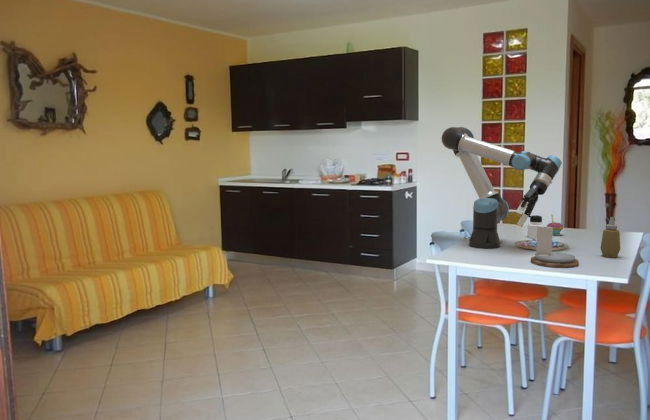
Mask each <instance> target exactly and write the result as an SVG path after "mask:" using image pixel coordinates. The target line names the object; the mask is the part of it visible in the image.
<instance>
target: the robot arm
mask: <svg viewBox="0 0 650 420" xmlns="http://www.w3.org/2000/svg"><path fill="white" fill-rule="evenodd" d="M441 143H442V145H443V146H444V147H445V148H446V149H448V150H452V152H453V155H454V156H455V157H456V158H459V159H460V161H461V164H462V165H463V168H464V170H465V172H466V173H467V175H468V179H469V180H470V182H471V185H472V186H473V188H474V190H475V192H476V194H477V197H478V199H475V201H473V205H472V209H473V211H472V212H473V215H472V217H473V219H472V232H471V235H470V238H469V241H468V246H469V247H473V248H477V249H478V248H479V249H497V248H500V247H501V240H500V236H499V232H498V223H499V222H501V221H503V220H504V219H506V217H507V216H508V214H509V211H510V207H509V204H508V202H507V201H506V200H505V199H503V198H502V196H501V194H500V192H498V191H496V190H495V189H494V187H493V185H492V183H491V180H490V179H489V177H488V174H487V173H486V171H485V169H484V166H483V164H482V161H481V160H480V158H479V157H482V158H483V159H488V160H489V161H494V162H496V163H499V164H502V165H506V166H509V167H511V168H513V169H515V170H517V171H525V170H531V171H533V172H536V175H535V176H534V179H533V180H532V182H531V183H530V185H529V190H528V191H527V192H526V193H525V194H524V195H523V196H522V197H521V200H522V201H521V203H520V204H519V206H518V208H517V209H516V211H515V213H516V214H518V215H520V218H519V220H518V221H517V223H516V225H517V226H519V227H521V228H523V226H524V225H525V223H526V222H527V220H528V218H530V217H531V216H532V212H533V210H534V208H535V206H536V204H537V202H538V201H539V195H541V196H543V195H545V193H546V191H547V190H548V188H549V186H550V184H553V180H554V178H555V176H556V175H557V174H558V172H559V170H560V168H561V167H562V160H561V159H560V157H558V156H556V155H548V156H547V157H542V156H540V155H537V154H535V153H532V152H530V151H526V150H522V151H520V152H519V151H515V150H512V149H510V148H506V147H503V146H501V145H500V146H499V145H496V144H493V143H489V142H488V141H484V140H481V139H478V138H475V137H474V134H473V132H472V130H470V129H469V128H467V127H464V126H460V127H456V126H451V127H448V128H446V129H444V131H443V132H442V134H441Z"/></svg>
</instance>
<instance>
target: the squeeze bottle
mask: <svg viewBox="0 0 650 420" xmlns="http://www.w3.org/2000/svg"><path fill="white" fill-rule="evenodd" d="M620 235H621V234H620V230H618V224H616V223H615V218H614V217H613V216H610V218H609V221H608V224H605V228H604V230H602V235H601V243H600V247H599V249H600V251H601V255H602V257H605V258H617V257H618V256H619V253H620V251H621V237H620Z"/></svg>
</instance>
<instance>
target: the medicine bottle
mask: <svg viewBox="0 0 650 420" xmlns="http://www.w3.org/2000/svg"><path fill="white" fill-rule="evenodd" d="M530 216H531V217H529V223H528V224H527V237H528V238H529V239H536V240H537V226H543V227H545V226H544V225H543V224H542V223H543V217H542V216H541V215H535V214H534V215H530Z"/></svg>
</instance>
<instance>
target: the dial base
mask: <svg viewBox="0 0 650 420" xmlns="http://www.w3.org/2000/svg"><path fill="white" fill-rule="evenodd" d="M530 262H531V264H534V265H536V266H539V267H546V268H551V269H553V268H554V269H570V268H571V269H572V268H576V267H577V268H578V266H579V264H580V261H579V260H578V259H577V258H575V261H574V262H570V263H552V262H544V261H540V260H537V259H535V255H533V256H531V258H530Z"/></svg>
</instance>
